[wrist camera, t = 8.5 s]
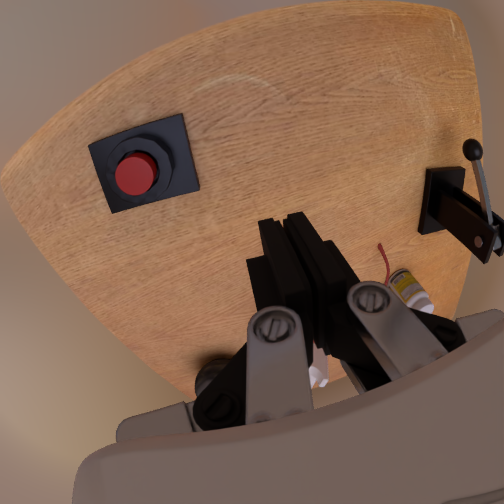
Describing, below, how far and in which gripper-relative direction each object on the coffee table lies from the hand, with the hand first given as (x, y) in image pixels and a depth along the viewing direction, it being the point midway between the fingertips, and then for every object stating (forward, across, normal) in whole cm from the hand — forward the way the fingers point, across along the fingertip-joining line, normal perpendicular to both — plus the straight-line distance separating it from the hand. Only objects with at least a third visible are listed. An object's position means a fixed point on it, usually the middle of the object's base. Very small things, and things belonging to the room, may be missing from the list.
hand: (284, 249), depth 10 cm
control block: (+19, +10, -1) cm, 21 cm away
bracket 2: (+18, -28, +11) cm, 35 cm away
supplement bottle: (+19, -22, +25) cm, 38 cm away
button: (+16, +10, -1) cm, 19 cm away
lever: (+12, -28, +7) cm, 31 cm away
